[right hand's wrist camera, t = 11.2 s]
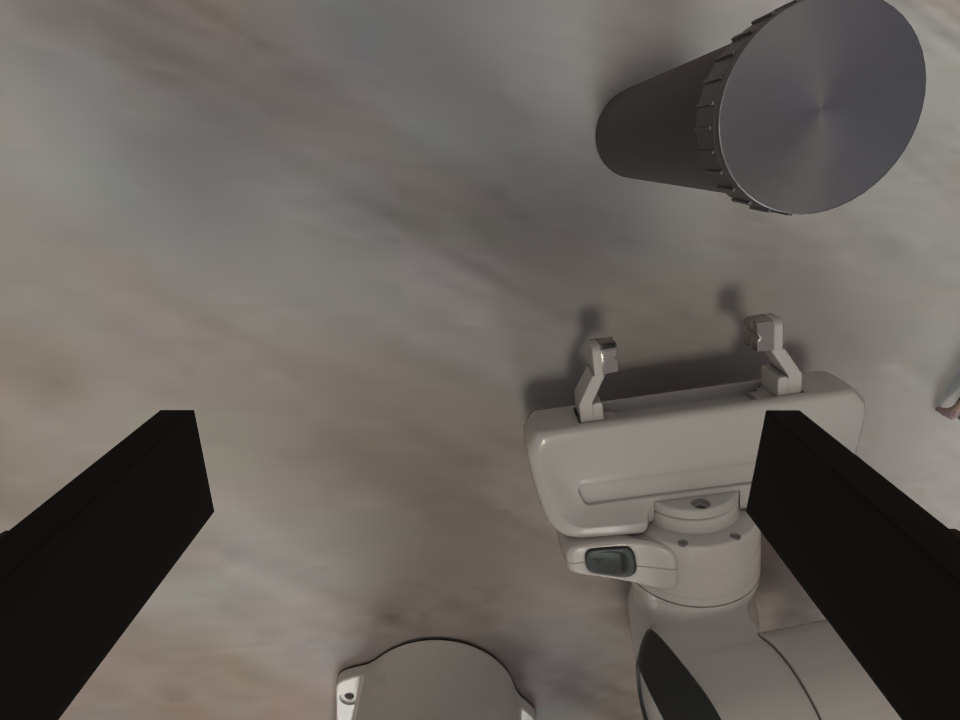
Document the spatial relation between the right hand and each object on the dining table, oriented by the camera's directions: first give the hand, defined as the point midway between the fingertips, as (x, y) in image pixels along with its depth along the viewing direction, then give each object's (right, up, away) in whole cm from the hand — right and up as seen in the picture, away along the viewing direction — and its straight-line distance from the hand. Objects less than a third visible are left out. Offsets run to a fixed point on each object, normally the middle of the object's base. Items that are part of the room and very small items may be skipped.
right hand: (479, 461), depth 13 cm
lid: (+10, +10, +3) cm, 14 cm away
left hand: (+12, +4, +20) cm, 23 cm away
